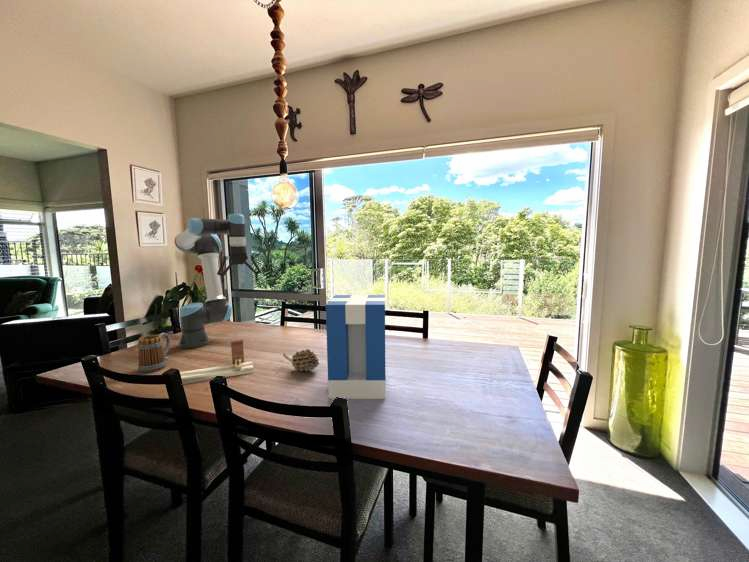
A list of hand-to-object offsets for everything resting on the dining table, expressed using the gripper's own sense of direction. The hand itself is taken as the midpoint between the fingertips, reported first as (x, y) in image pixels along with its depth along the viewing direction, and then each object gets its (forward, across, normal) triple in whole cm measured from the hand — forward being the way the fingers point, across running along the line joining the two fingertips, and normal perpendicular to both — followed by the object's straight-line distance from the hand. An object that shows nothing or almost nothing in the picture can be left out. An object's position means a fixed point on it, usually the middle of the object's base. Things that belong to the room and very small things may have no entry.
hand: (240, 288), depth 158 cm
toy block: (+35, +41, -59) cm, 80 cm away
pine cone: (+35, +22, -32) cm, 52 cm away
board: (+35, -12, -22) cm, 43 cm away
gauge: (+34, -3, -20) cm, 40 cm away
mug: (+35, -38, 0) cm, 52 cm away
